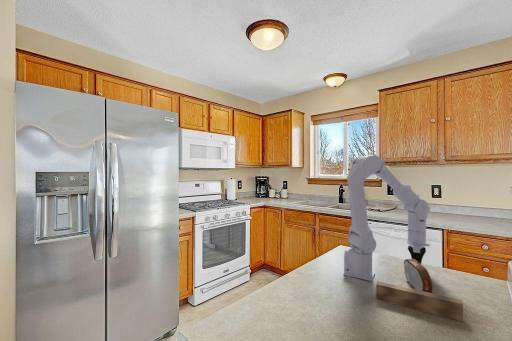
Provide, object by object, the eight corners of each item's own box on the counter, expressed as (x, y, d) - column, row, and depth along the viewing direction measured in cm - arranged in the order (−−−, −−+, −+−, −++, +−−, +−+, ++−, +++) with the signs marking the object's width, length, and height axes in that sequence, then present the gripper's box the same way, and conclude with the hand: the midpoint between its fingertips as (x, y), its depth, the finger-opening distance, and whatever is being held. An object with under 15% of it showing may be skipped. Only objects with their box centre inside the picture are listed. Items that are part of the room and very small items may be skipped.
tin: (433, 300, 73) (433, 272, 73) (421, 299, 73) (421, 271, 73) (412, 279, 87) (412, 255, 87) (402, 278, 88) (402, 254, 88)
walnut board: (376, 299, 73) (376, 284, 73) (377, 295, 75) (377, 281, 75) (463, 321, 62) (463, 304, 62) (461, 317, 64) (461, 299, 64)
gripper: (430, 236, 84) (430, 276, 84) (429, 228, 96) (429, 263, 96) (406, 233, 88) (406, 271, 88) (407, 226, 100) (407, 259, 100)
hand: (416, 266), depth 92 cm, fingers closed
